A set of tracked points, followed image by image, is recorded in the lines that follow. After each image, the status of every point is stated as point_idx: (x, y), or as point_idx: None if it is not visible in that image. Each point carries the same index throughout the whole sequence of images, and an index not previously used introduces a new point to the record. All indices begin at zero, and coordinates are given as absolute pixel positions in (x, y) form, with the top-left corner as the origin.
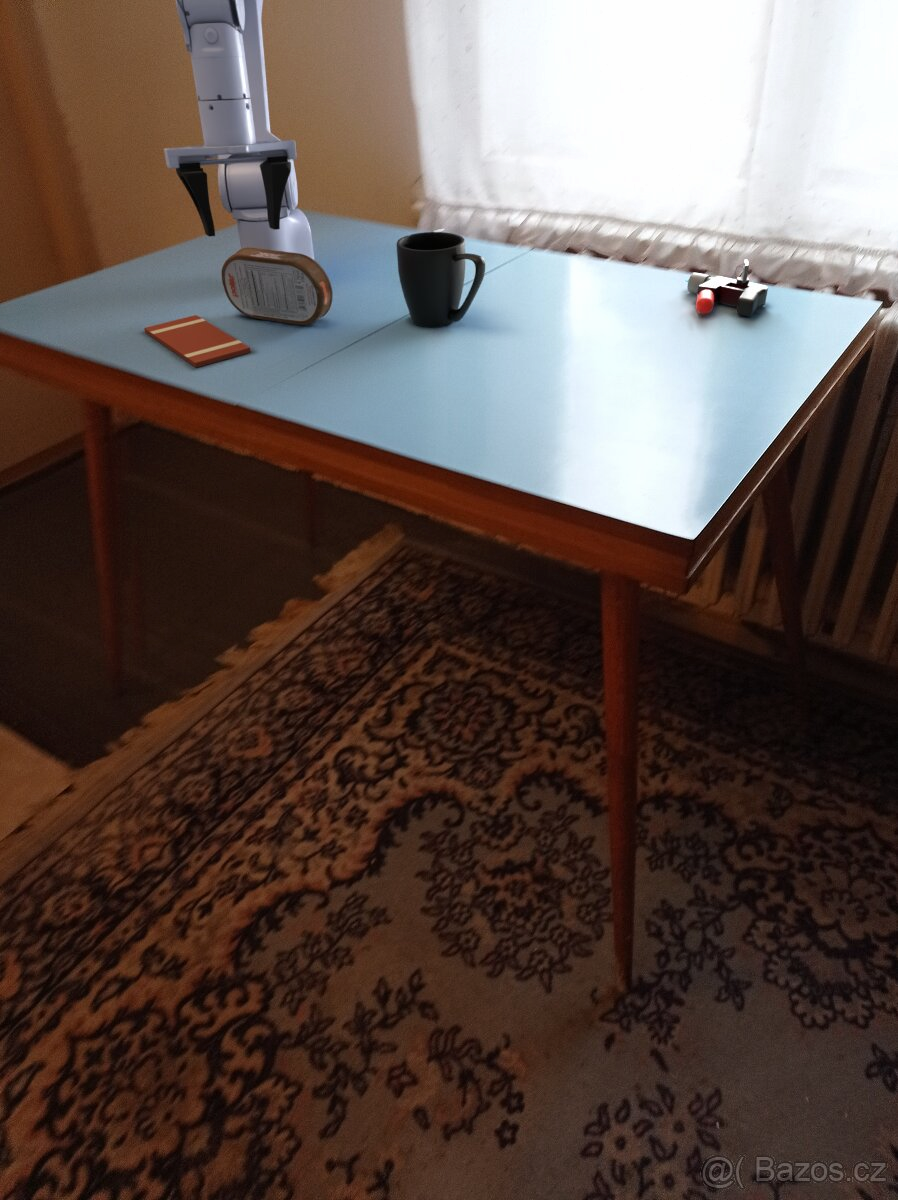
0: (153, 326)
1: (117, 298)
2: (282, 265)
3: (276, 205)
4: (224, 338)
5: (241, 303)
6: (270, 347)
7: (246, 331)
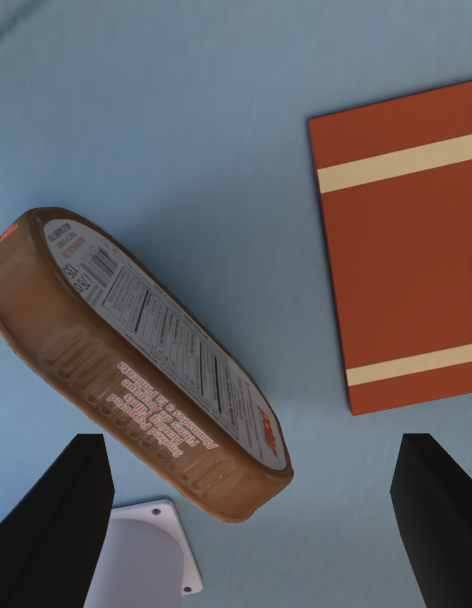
0: (464, 388)
1: None
2: (123, 336)
3: (30, 523)
4: (348, 227)
5: (250, 393)
6: (246, 132)
7: (269, 283)
